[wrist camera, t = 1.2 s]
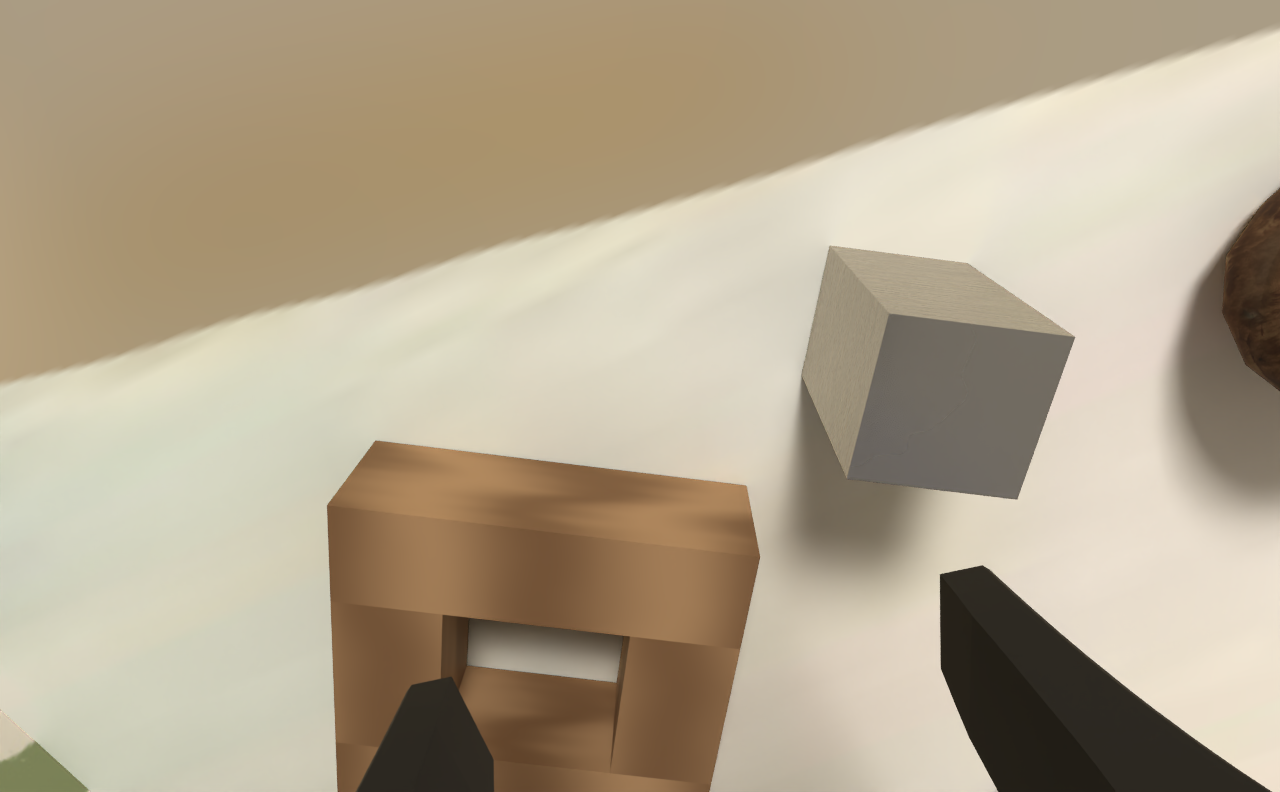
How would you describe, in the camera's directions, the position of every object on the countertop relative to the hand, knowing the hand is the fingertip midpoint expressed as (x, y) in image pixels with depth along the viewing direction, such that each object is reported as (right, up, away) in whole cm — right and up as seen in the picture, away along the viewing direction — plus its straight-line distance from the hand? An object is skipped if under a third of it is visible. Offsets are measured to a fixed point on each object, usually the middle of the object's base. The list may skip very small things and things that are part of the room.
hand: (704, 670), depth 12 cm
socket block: (-4, -4, +16) cm, 17 cm away
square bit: (+6, +6, +12) cm, 15 cm away
